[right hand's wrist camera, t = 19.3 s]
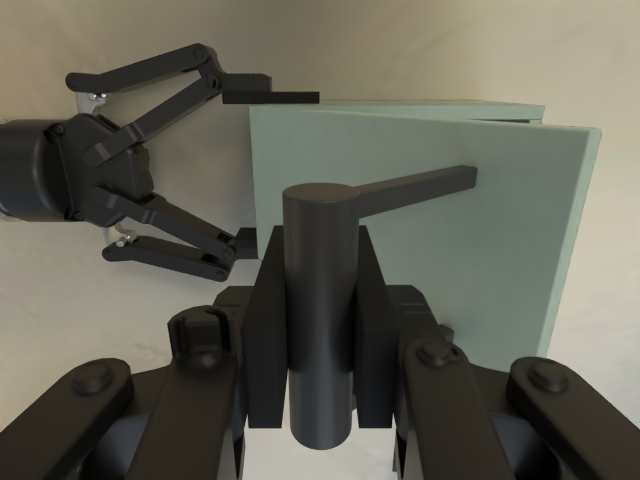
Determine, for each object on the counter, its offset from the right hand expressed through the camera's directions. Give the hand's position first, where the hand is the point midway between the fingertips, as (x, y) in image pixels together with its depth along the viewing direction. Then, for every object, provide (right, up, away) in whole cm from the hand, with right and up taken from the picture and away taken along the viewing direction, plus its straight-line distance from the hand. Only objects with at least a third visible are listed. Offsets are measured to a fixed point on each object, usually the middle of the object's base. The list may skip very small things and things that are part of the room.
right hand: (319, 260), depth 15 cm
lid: (+2, +2, +4) cm, 5 cm away
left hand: (0, +6, +15) cm, 16 cm away
